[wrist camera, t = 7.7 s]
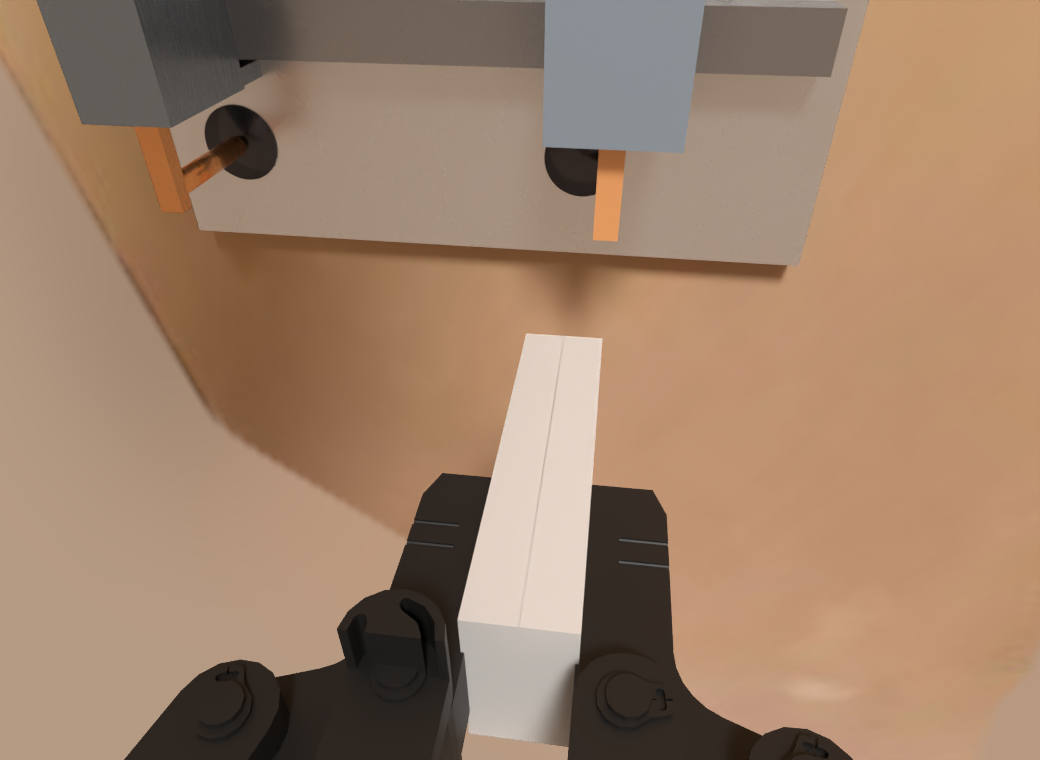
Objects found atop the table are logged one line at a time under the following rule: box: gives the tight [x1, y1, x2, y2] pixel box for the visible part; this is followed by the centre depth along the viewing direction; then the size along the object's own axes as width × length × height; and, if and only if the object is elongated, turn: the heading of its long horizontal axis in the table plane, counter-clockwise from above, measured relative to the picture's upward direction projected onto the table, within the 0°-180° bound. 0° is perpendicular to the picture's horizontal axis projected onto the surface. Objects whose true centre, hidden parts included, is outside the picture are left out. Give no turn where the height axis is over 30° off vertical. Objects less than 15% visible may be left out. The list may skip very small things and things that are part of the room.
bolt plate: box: [37, 0, 869, 266], centre depth 23 cm, size 14×26×8 cm, turn 90°
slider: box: [543, 0, 705, 242], centre depth 22 cm, size 7×4×6 cm, turn 0°
